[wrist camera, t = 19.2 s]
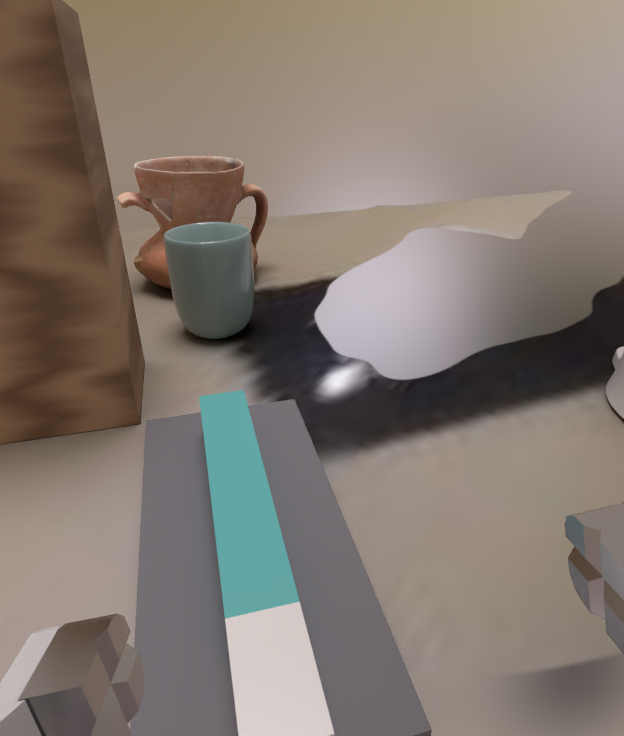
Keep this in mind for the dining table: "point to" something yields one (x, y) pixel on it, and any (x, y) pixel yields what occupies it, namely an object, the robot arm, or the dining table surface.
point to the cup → (211, 277)
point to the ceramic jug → (189, 202)
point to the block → (258, 584)
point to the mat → (204, 594)
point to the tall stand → (59, 240)
